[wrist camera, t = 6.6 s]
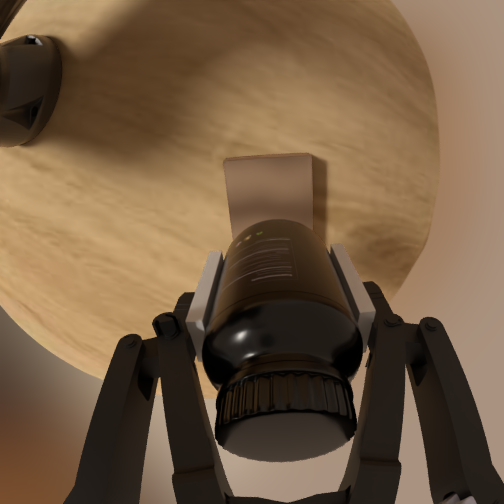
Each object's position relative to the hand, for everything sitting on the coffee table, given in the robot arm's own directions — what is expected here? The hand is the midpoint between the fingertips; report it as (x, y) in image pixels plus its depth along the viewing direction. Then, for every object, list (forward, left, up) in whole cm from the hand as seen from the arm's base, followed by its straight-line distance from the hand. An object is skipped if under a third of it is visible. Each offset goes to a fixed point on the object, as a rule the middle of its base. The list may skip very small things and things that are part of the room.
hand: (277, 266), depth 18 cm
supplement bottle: (0, 0, -1) cm, 1 cm away
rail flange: (+6, 0, -12) cm, 13 cm away
